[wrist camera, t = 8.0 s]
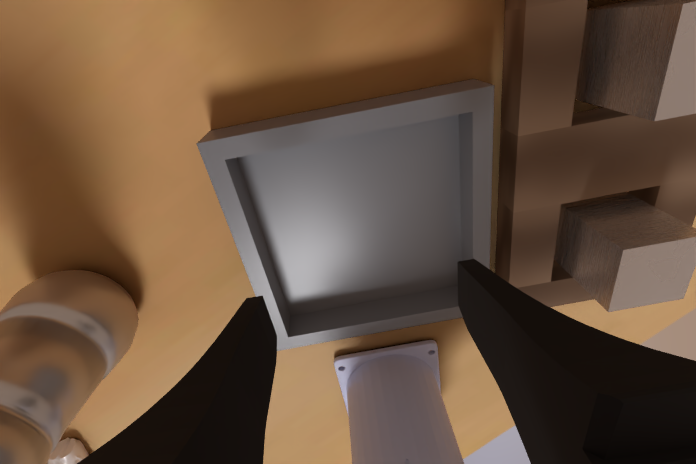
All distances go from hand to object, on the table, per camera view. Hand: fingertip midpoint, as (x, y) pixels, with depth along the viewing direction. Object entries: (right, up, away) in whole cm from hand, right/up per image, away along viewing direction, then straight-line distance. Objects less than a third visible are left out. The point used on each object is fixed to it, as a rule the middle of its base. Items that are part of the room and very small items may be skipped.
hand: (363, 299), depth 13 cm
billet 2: (+15, +3, +10) cm, 18 cm away
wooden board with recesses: (+14, +7, +8) cm, 17 cm away
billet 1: (+13, +12, +5) cm, 18 cm away
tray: (0, +3, +9) cm, 10 cm away
